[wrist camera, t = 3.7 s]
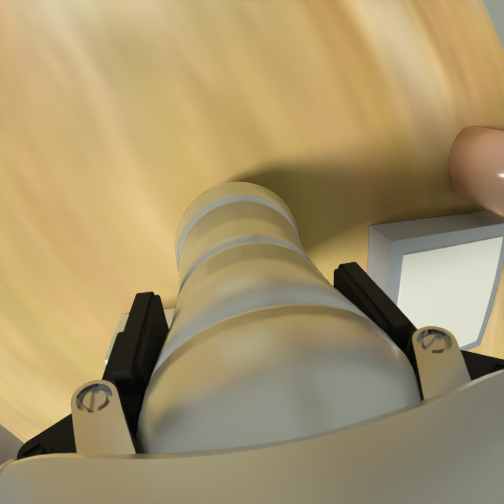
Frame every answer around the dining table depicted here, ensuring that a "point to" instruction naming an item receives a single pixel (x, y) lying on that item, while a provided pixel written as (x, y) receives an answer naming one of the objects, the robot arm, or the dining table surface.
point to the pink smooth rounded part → (479, 167)
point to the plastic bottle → (261, 337)
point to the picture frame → (441, 270)
